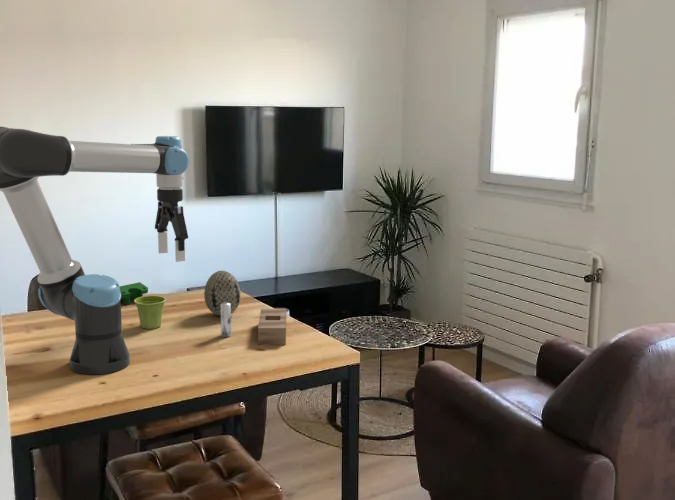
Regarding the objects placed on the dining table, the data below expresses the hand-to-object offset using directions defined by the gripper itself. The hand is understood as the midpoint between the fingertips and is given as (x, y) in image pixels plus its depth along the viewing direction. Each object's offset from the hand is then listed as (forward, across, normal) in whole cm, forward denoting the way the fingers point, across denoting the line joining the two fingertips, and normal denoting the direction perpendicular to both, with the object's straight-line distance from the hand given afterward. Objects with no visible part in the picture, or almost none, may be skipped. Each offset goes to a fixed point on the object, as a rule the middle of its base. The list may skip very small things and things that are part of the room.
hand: (171, 257), depth 222 cm
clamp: (+22, +32, +2) cm, 39 cm away
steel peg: (+22, -17, -10) cm, 30 cm away
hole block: (+22, -23, -23) cm, 39 cm away
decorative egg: (+22, +2, -18) cm, 29 cm away
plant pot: (+22, +3, +6) cm, 23 cm away
